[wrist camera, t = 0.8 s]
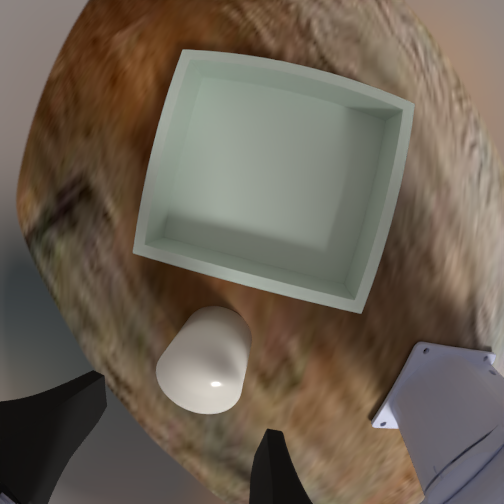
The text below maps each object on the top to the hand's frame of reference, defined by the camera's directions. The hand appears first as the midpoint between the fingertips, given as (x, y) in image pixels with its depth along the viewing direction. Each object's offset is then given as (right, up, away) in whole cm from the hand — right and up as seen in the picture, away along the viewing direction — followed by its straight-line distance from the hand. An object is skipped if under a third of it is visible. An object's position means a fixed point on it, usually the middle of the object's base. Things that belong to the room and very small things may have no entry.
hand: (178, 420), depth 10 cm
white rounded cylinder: (+1, +2, +8) cm, 8 cm away
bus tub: (+4, +11, +5) cm, 13 cm away
